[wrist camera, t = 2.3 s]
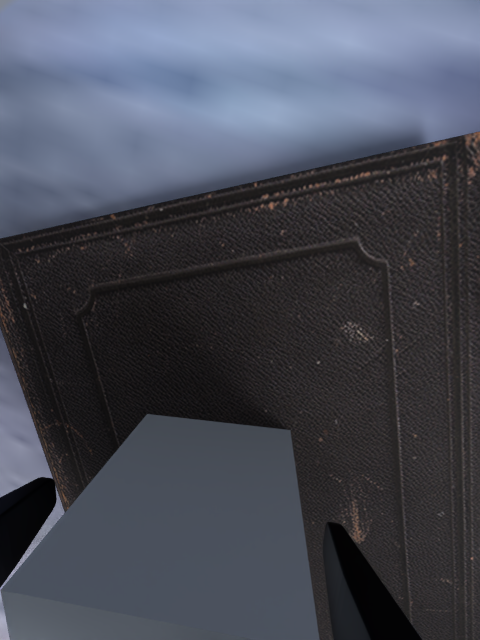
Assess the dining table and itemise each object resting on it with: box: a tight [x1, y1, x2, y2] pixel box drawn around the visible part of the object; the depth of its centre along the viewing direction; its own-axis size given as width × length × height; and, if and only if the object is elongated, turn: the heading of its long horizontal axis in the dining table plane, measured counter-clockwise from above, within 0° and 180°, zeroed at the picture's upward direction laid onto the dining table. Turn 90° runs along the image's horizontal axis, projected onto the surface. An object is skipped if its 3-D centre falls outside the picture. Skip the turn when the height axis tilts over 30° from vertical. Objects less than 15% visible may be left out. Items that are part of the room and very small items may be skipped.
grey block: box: [1, 414, 319, 640], centre depth 7 cm, size 5×5×5 cm
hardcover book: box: [0, 132, 480, 640], centre depth 10 cm, size 16×23×2 cm
